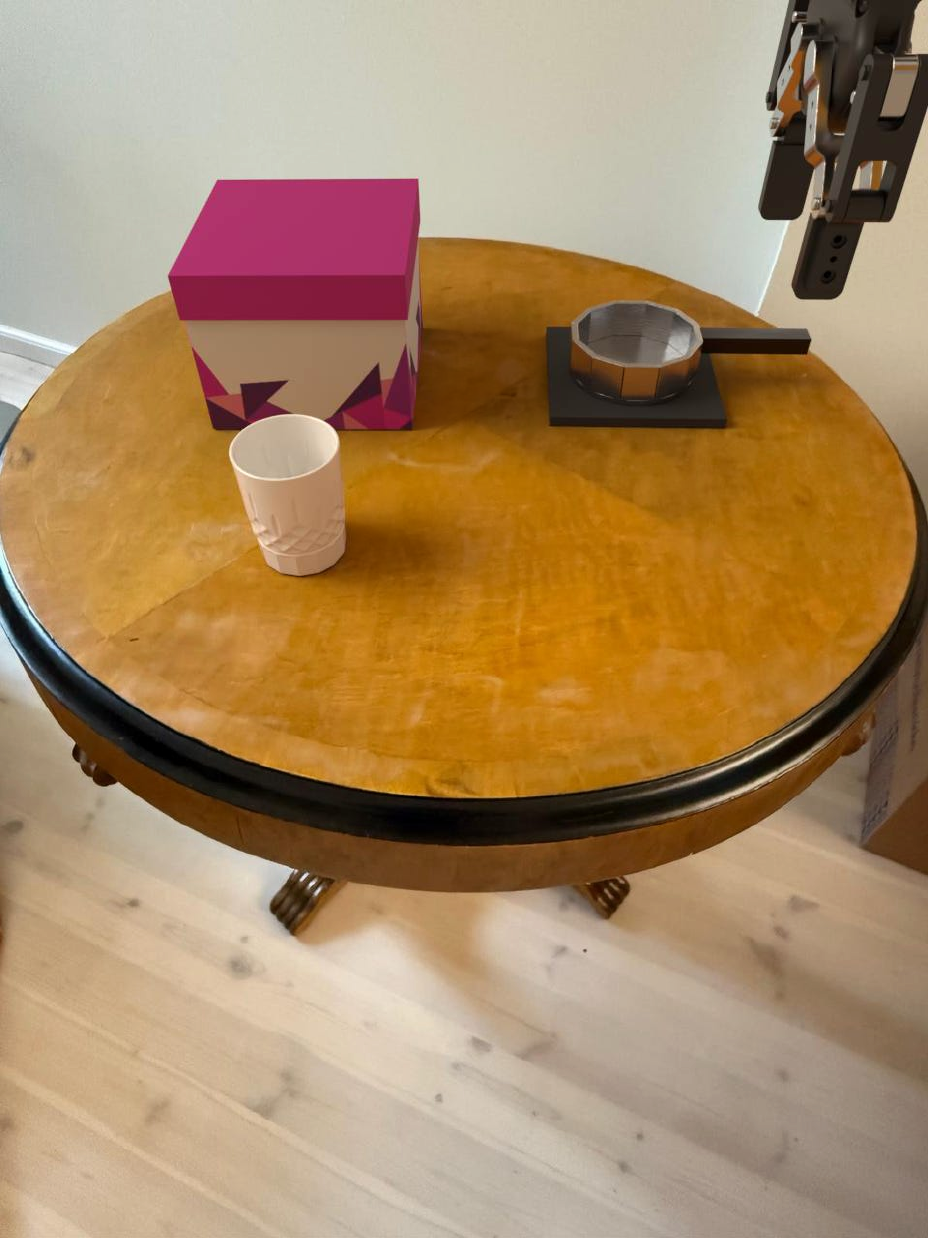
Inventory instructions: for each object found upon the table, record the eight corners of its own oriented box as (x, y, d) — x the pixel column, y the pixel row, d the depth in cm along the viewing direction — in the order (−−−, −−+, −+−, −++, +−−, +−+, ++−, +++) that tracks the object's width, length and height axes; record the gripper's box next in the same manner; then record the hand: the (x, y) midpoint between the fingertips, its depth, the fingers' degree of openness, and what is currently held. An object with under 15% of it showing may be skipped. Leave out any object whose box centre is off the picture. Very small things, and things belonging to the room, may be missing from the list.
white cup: (320, 594, 68) (301, 492, 61) (235, 564, 71) (206, 462, 63) (371, 531, 73) (359, 429, 66) (289, 505, 75) (269, 403, 68)
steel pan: (571, 405, 83) (574, 366, 80) (566, 337, 91) (569, 299, 88) (811, 408, 82) (824, 369, 79) (785, 339, 90) (796, 301, 87)
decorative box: (425, 325, 95) (418, 178, 84) (415, 432, 82) (404, 274, 71) (247, 325, 95) (217, 179, 84) (209, 431, 83) (167, 275, 72)
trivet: (700, 336, 93) (702, 327, 92) (724, 428, 82) (727, 419, 81) (546, 335, 93) (546, 326, 93) (549, 425, 83) (550, 416, 82)
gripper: (1101, -151, 28) (914, 328, 40) (951, -205, 37) (837, 194, 49) (855, -149, 28) (742, 327, 40) (769, -202, 38) (699, 194, 50)
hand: (795, 253), depth 45 cm, fingers open, 8 cm apart
